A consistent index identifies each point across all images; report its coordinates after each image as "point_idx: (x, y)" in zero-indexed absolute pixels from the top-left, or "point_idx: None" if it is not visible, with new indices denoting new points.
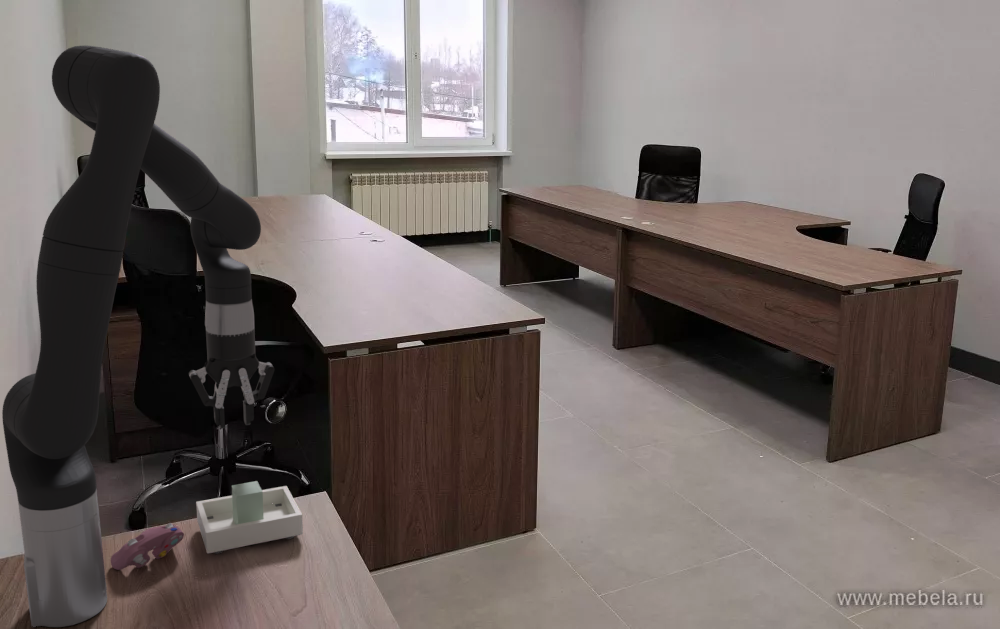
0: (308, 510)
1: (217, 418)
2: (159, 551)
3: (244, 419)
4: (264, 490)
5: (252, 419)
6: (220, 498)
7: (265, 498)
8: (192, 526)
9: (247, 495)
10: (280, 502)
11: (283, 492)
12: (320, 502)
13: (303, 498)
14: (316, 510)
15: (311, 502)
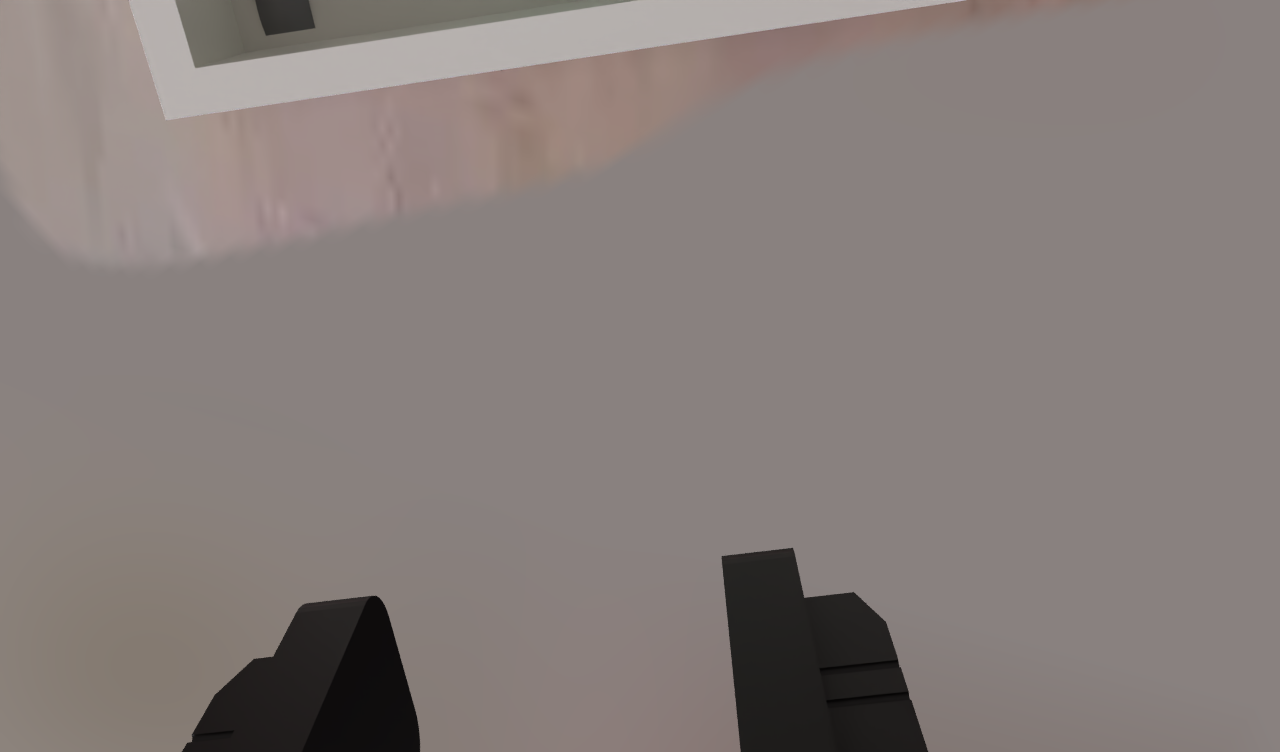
0: (93, 49)
1: (864, 684)
2: None
3: (399, 737)
4: (365, 73)
5: (253, 678)
6: (767, 4)
7: (374, 36)
8: (960, 16)
9: None
10: (268, 47)
11: (202, 47)
12: (11, 156)
13: (147, 250)
14: (30, 33)
15: (81, 173)
